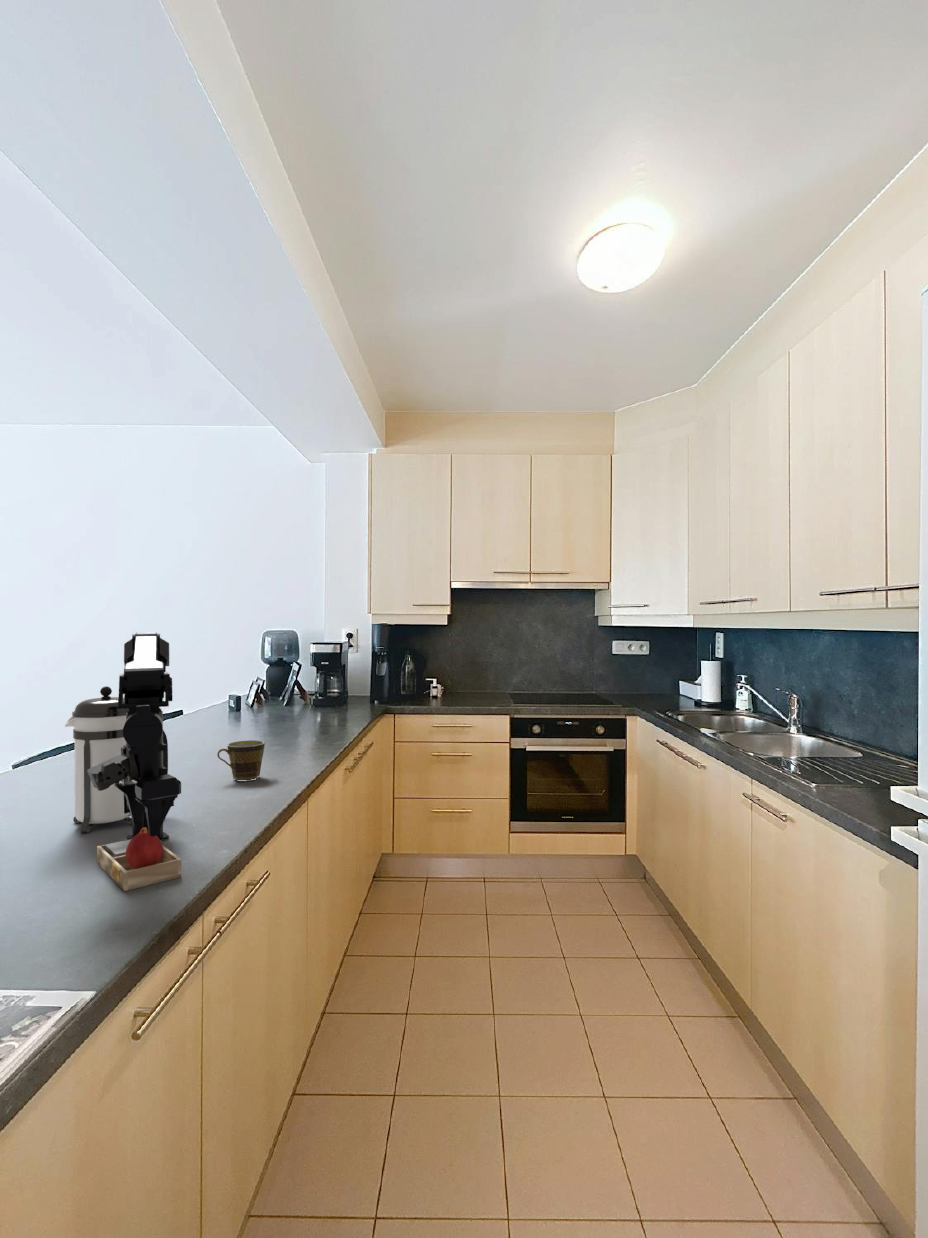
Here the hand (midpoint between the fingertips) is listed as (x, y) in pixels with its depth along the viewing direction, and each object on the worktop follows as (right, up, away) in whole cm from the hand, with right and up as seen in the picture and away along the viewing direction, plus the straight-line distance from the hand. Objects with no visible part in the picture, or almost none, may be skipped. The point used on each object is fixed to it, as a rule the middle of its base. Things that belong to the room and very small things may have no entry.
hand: (145, 829), depth 113 cm
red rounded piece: (0, -8, 0) cm, 8 cm away
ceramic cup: (-7, -9, +70) cm, 71 cm away
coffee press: (-23, -9, +32) cm, 40 cm away
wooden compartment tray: (-3, -8, +3) cm, 9 cm away
